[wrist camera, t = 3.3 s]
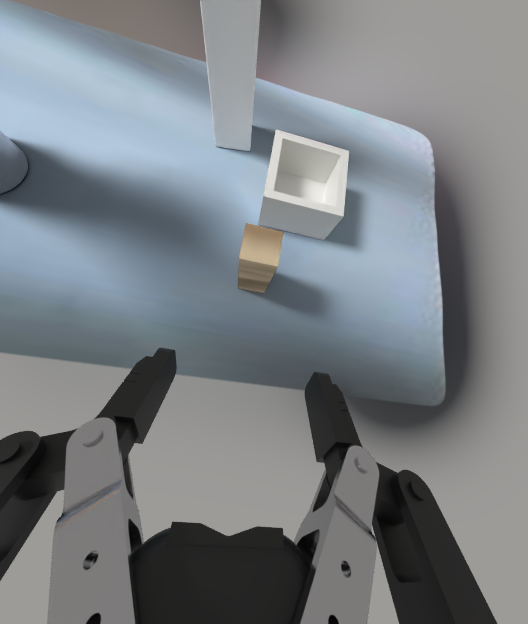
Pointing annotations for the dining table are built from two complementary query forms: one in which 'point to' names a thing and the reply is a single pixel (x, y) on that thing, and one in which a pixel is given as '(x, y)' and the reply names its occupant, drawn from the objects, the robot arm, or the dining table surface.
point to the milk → (231, 67)
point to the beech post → (258, 257)
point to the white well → (304, 186)
